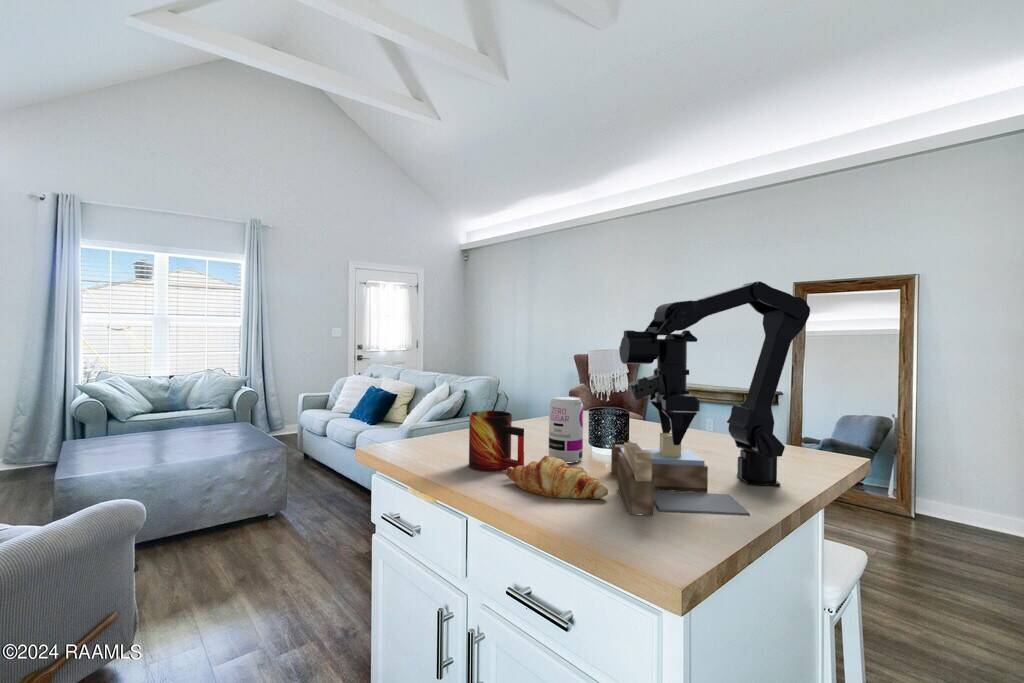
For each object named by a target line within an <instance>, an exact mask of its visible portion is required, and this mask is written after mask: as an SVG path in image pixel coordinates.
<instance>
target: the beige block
mask: <svg viewBox="0 0 1024 683" xmlns="http://www.w3.org/2000/svg"><path fill="white" fill-rule="evenodd" d="M623 445H624V459H625V460H626V462H627V464H628V466H629V468H630V469H631V471H632V473H633V476H634V477H635V479H636V481H651V477H652V453H651V452H650V450H641V447H640V445H639V444H638V443H637V442H631V443H628V442H624V443H623Z"/></svg>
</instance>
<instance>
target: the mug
mask: <svg viewBox="0 0 1024 683" xmlns="http://www.w3.org/2000/svg"><path fill="white" fill-rule="evenodd" d="M512 416H513V415H512V413H511V412H508V411H501V410H477V411H472V412H470V413H469V416H468V418H469V421H468V422H469V428H468V429H469V431H468V435H469V437H468V438H469V440H468V468H469V469H471V470H474V471H477V472H482V473H483V472H484V473H495V472H497V471H498V472H504V471H506V469H508V468H515V467H517V466H525V451H524V450H525V447H524V446H525V428H523V427H517V426H512ZM512 436H517V459H513V458H512ZM503 470H504V471H503Z"/></svg>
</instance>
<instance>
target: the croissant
mask: <svg viewBox="0 0 1024 683" xmlns="http://www.w3.org/2000/svg"><path fill="white" fill-rule="evenodd" d="M505 472H506V476H507V478H508V479H509V480H511V481H512V482H513V483H515V484H516V486H517V487H519V488H520V489H522V490H523V491H527V492H529V493H531V494H534V495H540V496H544V497H547V498H553V497H558V499H574V498H575V499H577V500H578V499H587V498H589V499H593V500H596V499H597V500H598V499H602V498H605V497H607V495H608V494H609V489H608V488H607V487H606V486H604V484H603V483H602V482H601V481H600V480H599V479H598V478H597V477H592V476H591V475H589V474H588V472H586V470H584V468H583V467H580V466H573V465H569V464H567V463H566V462H565V461H563V460H561V459H558V458H555V457H549V455H544V456H543V457H542V458H540V460H539V462H538V461H533V460H532V461H530V462H529V463H528V464H527V465H524V466H517V467H515V468H512V467H510V468H508V469H506V470H505ZM575 499H574V500H575Z"/></svg>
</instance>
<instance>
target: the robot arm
mask: <svg viewBox="0 0 1024 683" xmlns="http://www.w3.org/2000/svg"><path fill="white" fill-rule="evenodd" d="M747 304H749V305H750V307H751V308H753V309H754V311H755V312H757V313H759V314H760V315H762V316H763V318H762V327H763V331H764V335H765V336H764V339H763V340H764V341H763V343H762V346H761V350H760V352H759V356H758V359H757V363H756V366H755V370H754V372H753V375H752V380H751V382H750V385H749V389H748V392H747V396H746V399H745V400H744V402H743V403H742V404H741V405H740V406H739V405H736V404H733V405H732V406H731V410H730V416H729V419H728V420H727V421H726V423H727V424H728V428H727V429H728V432H729V435H730V436H731V438H732V439H733V440H734V442H735V445H736V446H735V447H737V449H740V450H739V452H740V453H739V454H740V456H737V473H736V477H737V478H739V479H740V480H742V481H743V482H744V483H745V484H747V485H753V486H756V485H757V486H778V487H779V486H781V482H779V480H778V477H777V476H778V457H783V454H784V451H785V448H786V447H785V446H786V445H784V444H783V443H782V442H781V441H780V440H779V439H778V438H777V437H776V435H775V434H774V429H775V428H774V427H775V419H774V413H773V410H772V406H773V402H774V399H775V396H776V392H777V390H778V386H779V383H780V379H781V376H782V373H783V370H784V366H785V364H786V361H787V360H786V359H787V356H788V353H789V349H790V347H791V343H792V342H793V340H794V339H795V338H796V337H797V336H798V335H799V334H800V333H801V332H802V331H803V329H804V328H805V325H806V323H807V322H808V320H809V317H810V315H811V307H810V306H809V305H808V302H807V301H806V300H805V299H803V298H802V297H800V296H794V295H792V294H790V293H788V292H785V291H783V290H780V289H777V288H774V287H772V286H770V285H769V284H767V283H764V282H763V281H752V282H748V283H747V282H746V283H744V284H742V285H741V286H737V287H734V288H731V289H727V290H724V291H721V292H718V293H714V294H712V295H709V296H704V297H702V298H699V299H691V300H684V301H675V302H670V303H668V302H667V303H663V304H661V305H659V306H657V307H656V309H655V312H654V314H653V315H654V316H653V319H652V320H651V321H650V323H649V324H648V326H647V327H646V328H645V330H644V331H638V330H637V331H636V330H630V329H629V330H628V329H627V330H623V337H622V339H621V341H620V345H619V350H618V351H619V358H620V359H619V360H620V361H621V363H622V364H624V365H627V364H629V365H637V364H638V365H643V364H644V365H648V364H649V365H651V364H653V363H654V361H655V360H656V366H657V367H655V368H654V369H653V375H651V376H648V377H646V376H643V377H642V378H637V380H635V381H632V382H629V383H628V388H629V390H630V393H631V396H632V398H633V399H634V400H635V401H638V400H643V399H644V397H647V399H648V400H649V403H650V404H651V405H652V406H653V407H654V408H655V409H656V410H657V414H658V418H659V423H660V426H661V431H662V432H661V433H672V439H673V444H674V445H680V443H681V444H682V440H683V439H684V437H685V434H686V433H687V431H688V429H689V427H690V425H691V423H692V422H693V419H694V418H695V416H697V414H698V412H700V408H701V407H700V404H701V403H700V402H701V401H700V400H699V399H698V398H697V397H696V396H694V395H693V394H690V390H689V389H687V376H690V369H687V368H688V367H687V366H688V365H687V362H688V360H687V358H688V357H687V356H688V355H687V354H688V352H687V351H688V349H687V348H688V343H693V342H694V343H697V342H698V338H697V337H696V336H694V335H693V334H692V332H691V331H690V330H687V329H688V328H690V327H692V326H694V325H695V324H697V323H699V322H700V321H702V319H704V318H706V317H708V316H712V315H715V314H718V313H721V312H724V311H728V310H731V309H734V308H738V307H740V306H744V305H747ZM675 331H677V332H678V331H682V332H681V333H674V332H675ZM658 336H665V337H664V338H658Z"/></svg>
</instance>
